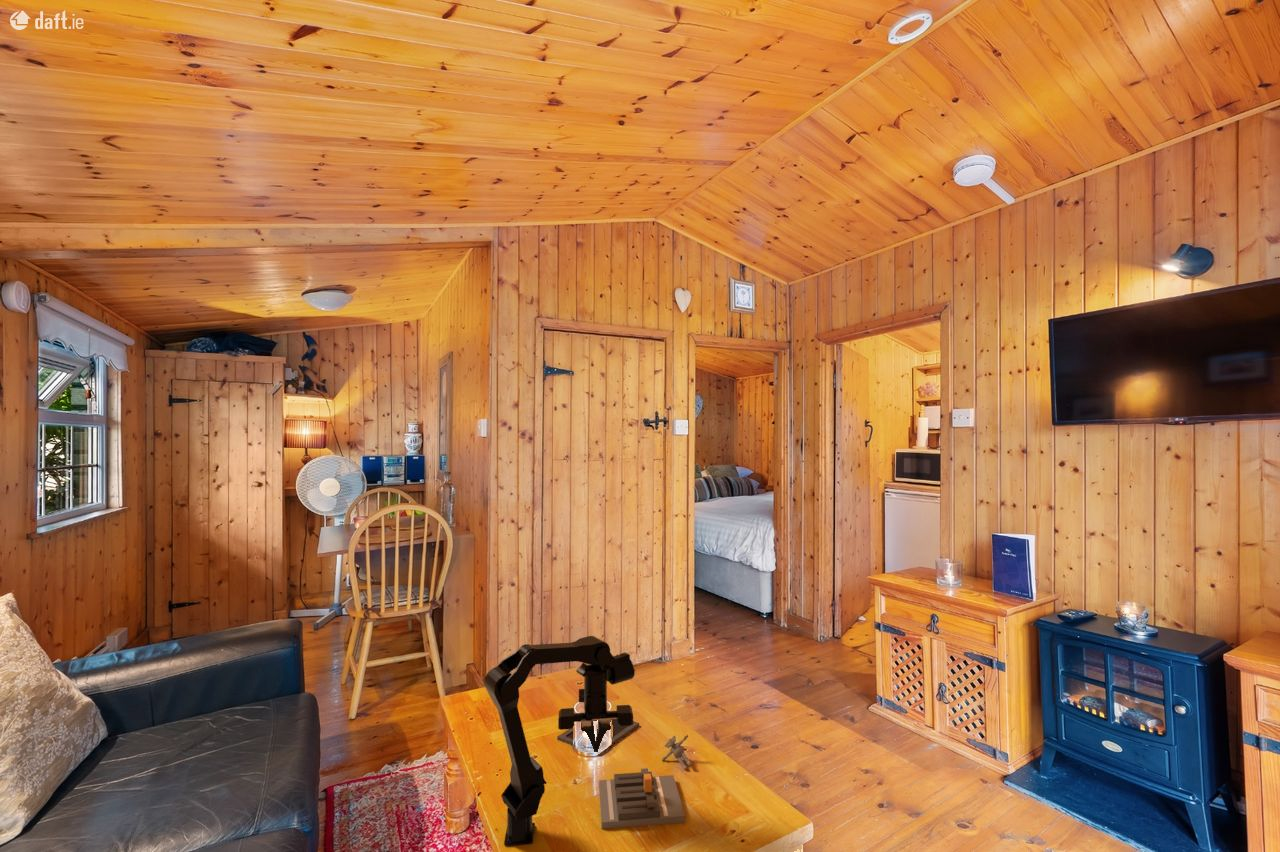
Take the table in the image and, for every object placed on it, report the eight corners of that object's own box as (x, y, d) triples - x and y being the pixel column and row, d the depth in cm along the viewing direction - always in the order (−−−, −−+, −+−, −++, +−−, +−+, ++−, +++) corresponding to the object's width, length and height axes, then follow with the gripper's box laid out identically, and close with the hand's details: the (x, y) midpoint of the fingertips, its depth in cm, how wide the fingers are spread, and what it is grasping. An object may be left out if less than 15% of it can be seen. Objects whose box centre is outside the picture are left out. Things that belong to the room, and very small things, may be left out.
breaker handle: (651, 792, 145) (651, 779, 145) (644, 792, 145) (644, 779, 145) (650, 786, 147) (650, 773, 147) (643, 786, 147) (643, 774, 147)
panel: (685, 822, 138) (684, 803, 138) (601, 828, 136) (601, 809, 136) (673, 780, 155) (673, 763, 155) (599, 786, 153) (598, 768, 153)
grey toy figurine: (669, 776, 158) (653, 750, 165) (679, 783, 161) (662, 758, 168) (696, 749, 160) (679, 724, 167) (705, 757, 163) (687, 733, 170)
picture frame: (597, 757, 168) (639, 728, 185) (597, 751, 168) (639, 721, 185) (557, 741, 177) (600, 714, 194) (557, 735, 177) (600, 708, 194)
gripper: (629, 674, 156) (629, 732, 155) (559, 677, 154) (559, 736, 153) (633, 691, 145) (633, 755, 144) (558, 696, 143) (558, 760, 142)
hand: (595, 750), depth 146 cm, fingers closed
